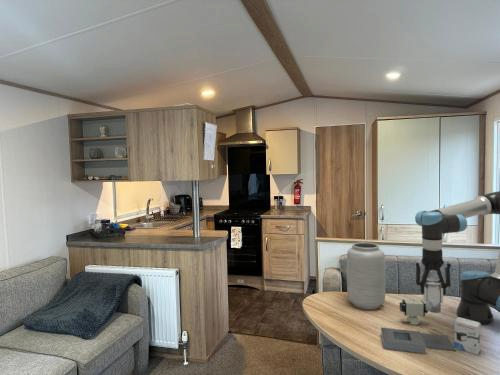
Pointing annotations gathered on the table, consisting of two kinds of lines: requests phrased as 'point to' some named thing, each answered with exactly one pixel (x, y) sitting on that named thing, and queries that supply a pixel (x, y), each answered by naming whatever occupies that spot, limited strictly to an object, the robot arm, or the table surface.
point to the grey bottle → (433, 295)
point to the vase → (366, 275)
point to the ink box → (467, 335)
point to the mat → (437, 342)
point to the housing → (403, 340)
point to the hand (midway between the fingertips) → (433, 301)
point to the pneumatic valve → (413, 310)
